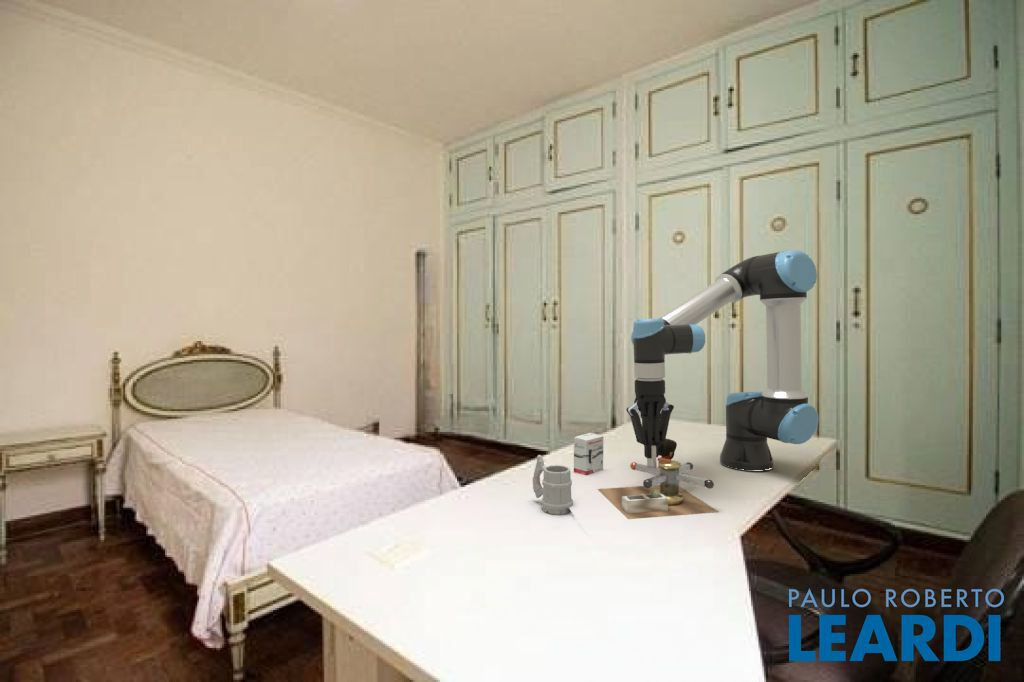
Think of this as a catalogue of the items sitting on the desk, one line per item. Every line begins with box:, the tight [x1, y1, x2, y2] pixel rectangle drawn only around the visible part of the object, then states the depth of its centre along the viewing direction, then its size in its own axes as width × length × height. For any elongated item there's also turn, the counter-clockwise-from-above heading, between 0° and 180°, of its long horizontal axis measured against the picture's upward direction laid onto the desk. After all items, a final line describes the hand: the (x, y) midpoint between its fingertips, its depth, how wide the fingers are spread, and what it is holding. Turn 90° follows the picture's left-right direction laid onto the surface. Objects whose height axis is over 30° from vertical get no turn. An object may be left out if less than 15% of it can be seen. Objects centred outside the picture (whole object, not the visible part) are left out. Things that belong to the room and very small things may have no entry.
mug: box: [532, 454, 574, 516], centre depth 118 cm, size 8×12×12 cm, turn 43°
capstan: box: [629, 457, 715, 505], centre depth 119 cm, size 22×22×9 cm
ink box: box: [573, 432, 604, 476], centre depth 143 cm, size 8×5×12 cm, turn 134°
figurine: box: [657, 438, 678, 468], centre depth 137 cm, size 6×6×12 cm
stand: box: [597, 484, 720, 520], centre depth 119 cm, size 22×20×6 cm
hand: (651, 470), depth 125 cm, fingers closed
